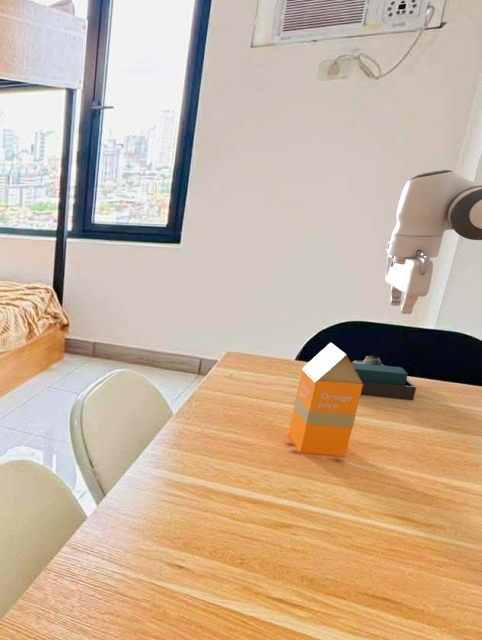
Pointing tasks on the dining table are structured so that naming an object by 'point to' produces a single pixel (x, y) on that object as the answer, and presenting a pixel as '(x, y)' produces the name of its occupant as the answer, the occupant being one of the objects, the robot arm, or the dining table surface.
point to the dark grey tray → (389, 390)
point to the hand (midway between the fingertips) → (399, 309)
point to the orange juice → (325, 404)
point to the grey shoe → (370, 361)
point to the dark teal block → (380, 374)
